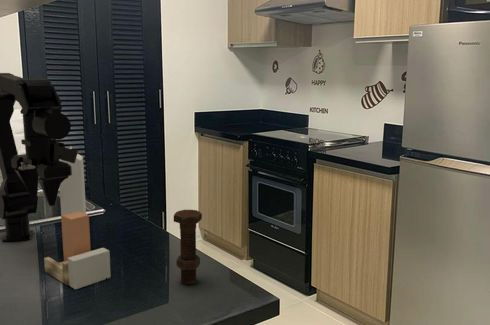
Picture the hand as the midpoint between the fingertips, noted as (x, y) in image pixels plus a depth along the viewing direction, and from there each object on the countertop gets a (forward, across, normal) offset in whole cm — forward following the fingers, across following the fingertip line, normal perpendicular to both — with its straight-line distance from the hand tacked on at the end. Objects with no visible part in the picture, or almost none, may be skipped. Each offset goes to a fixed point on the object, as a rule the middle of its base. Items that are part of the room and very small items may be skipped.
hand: (43, 201), depth 110 cm
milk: (+13, +17, -16) cm, 27 cm away
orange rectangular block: (+12, -16, 0) cm, 19 cm away
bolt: (+13, -35, -14) cm, 40 cm away
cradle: (+13, -14, 0) cm, 19 cm away
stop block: (+13, -21, 0) cm, 24 cm away
